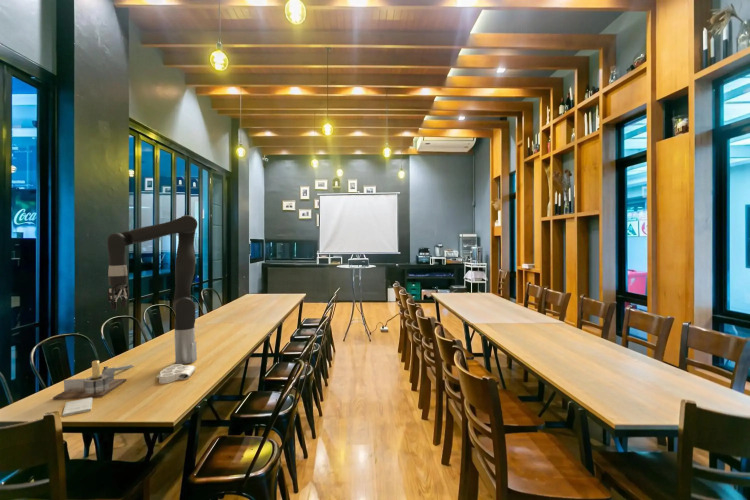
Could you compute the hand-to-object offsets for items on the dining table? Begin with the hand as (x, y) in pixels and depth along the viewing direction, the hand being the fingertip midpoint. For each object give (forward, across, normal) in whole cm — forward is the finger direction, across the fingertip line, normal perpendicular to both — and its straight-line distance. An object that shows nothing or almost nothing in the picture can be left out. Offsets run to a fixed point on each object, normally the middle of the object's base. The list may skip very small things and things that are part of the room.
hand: (119, 308), depth 184 cm
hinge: (+29, -24, -1) cm, 38 cm away
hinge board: (+30, -24, -1) cm, 39 cm away
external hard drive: (+31, -43, -7) cm, 53 cm away
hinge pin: (+29, -28, -5) cm, 41 cm away
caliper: (+31, -4, -1) cm, 31 cm away
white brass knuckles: (+31, -12, -29) cm, 44 cm away
